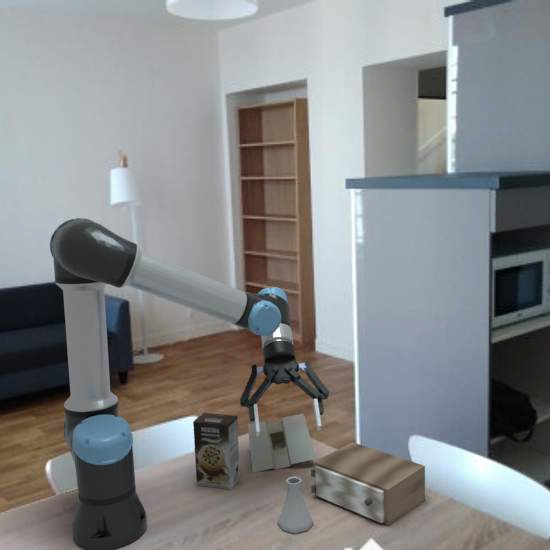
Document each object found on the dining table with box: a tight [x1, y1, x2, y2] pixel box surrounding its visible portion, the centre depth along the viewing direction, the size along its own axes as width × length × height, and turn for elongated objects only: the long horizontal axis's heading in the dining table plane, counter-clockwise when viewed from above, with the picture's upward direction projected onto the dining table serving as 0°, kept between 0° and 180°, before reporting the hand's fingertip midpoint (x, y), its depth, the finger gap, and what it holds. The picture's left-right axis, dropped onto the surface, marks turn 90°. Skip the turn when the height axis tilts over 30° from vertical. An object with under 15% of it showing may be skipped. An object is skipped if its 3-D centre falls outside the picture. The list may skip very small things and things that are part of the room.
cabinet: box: [310, 441, 426, 527], centre depth 145 cm, size 20×16×8 cm
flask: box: [277, 476, 315, 534], centre depth 136 cm, size 7×7×10 cm
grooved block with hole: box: [247, 413, 317, 473], centre depth 169 cm, size 16×9×15 cm
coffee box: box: [192, 412, 241, 490], centre depth 155 cm, size 9×6×16 cm
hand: (288, 431), depth 143 cm, fingers open, 13 cm apart
